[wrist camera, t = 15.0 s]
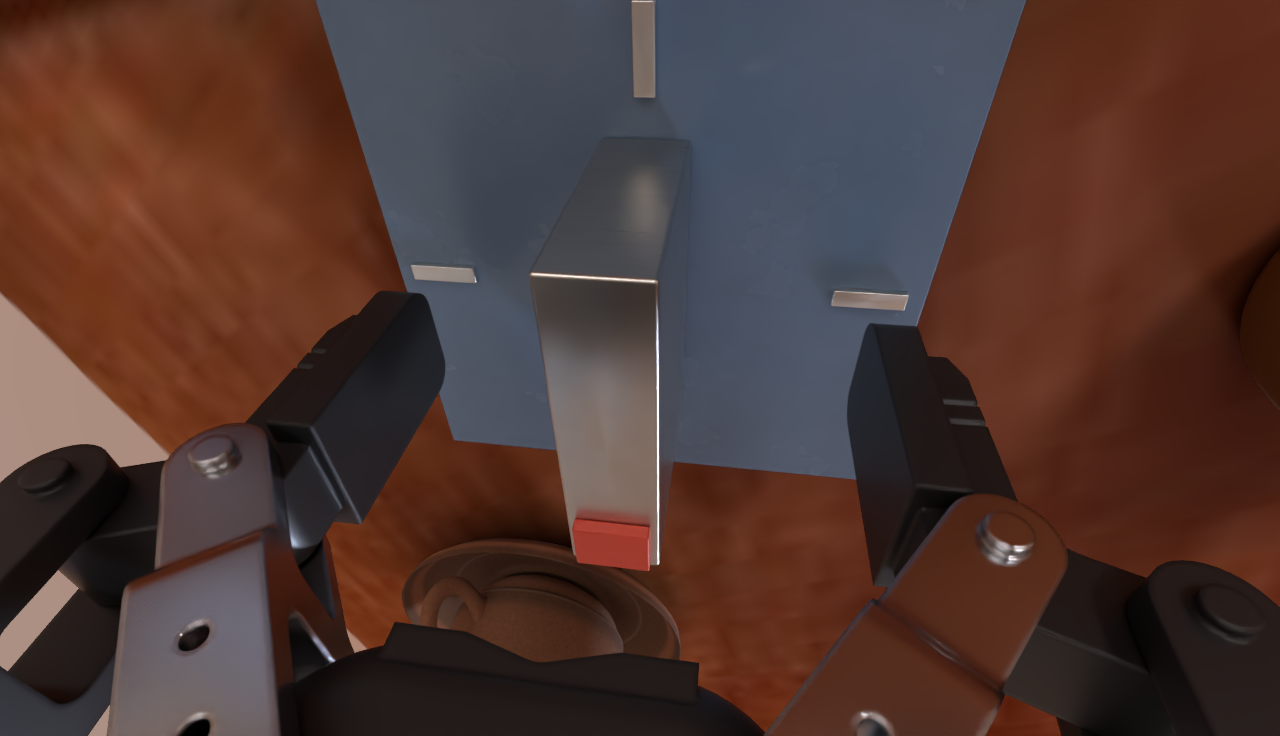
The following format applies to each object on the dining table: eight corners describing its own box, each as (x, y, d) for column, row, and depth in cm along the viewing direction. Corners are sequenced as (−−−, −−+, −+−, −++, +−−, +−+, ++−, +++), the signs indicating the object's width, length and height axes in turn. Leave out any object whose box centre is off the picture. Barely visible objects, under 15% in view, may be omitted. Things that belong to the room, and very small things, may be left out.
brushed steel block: (600, 136, 11) (519, 283, 7) (692, 138, 11) (656, 292, 7) (616, 389, 15) (569, 568, 11) (682, 394, 14) (658, 579, 11)
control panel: (337, -274, 10) (208, -311, 8) (1050, -313, 9) (1160, -375, 6) (488, 371, 19) (450, 445, 17) (851, 400, 18) (866, 486, 15)
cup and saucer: (376, 573, 29) (303, 713, 24) (516, 467, 22) (451, 632, 17) (574, 676, 33) (544, 812, 28) (743, 613, 26) (739, 778, 22)
